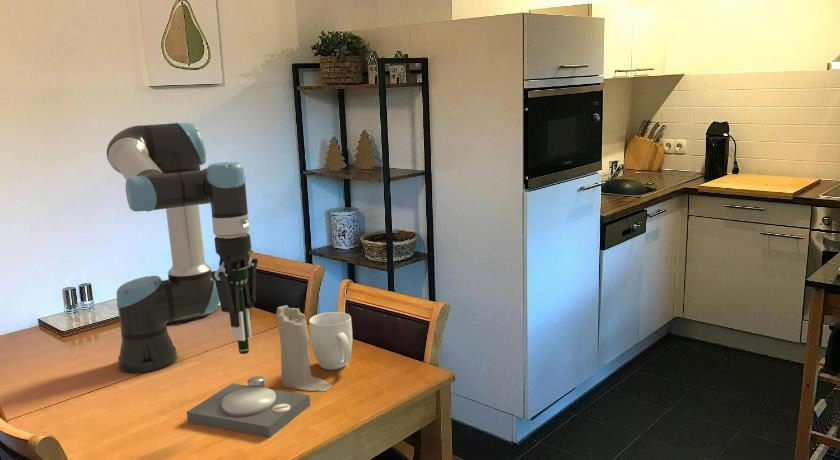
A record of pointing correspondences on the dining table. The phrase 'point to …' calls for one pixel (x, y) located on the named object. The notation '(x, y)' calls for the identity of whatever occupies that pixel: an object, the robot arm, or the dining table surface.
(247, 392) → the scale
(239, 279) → the flashlight
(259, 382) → the spacer
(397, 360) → the dining table surface
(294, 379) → the candle
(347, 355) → the mug
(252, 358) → the dining table surface
